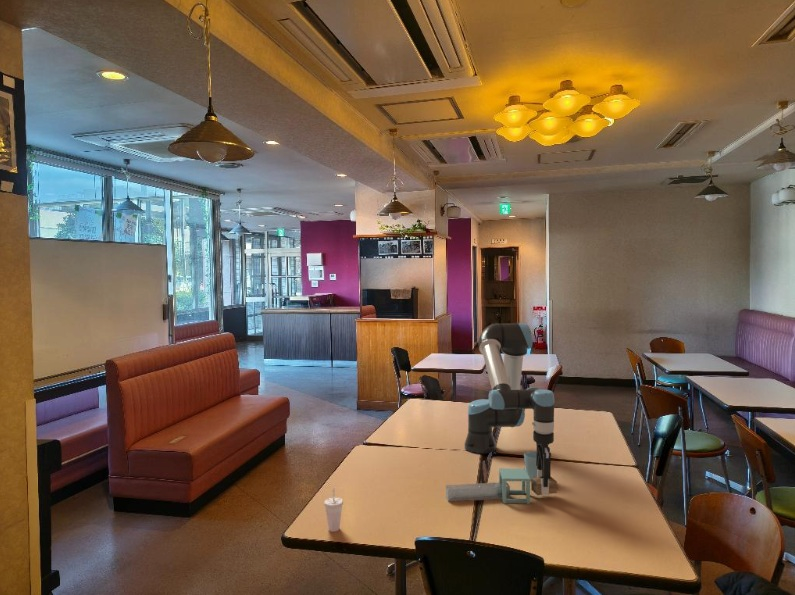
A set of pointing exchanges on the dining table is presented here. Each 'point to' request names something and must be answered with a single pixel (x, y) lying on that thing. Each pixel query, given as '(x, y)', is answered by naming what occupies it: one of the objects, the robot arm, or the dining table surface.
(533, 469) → the cup
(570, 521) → the dining table surface
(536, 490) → the walnut block
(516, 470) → the bridge
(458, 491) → the grey bar
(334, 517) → the smoothie
